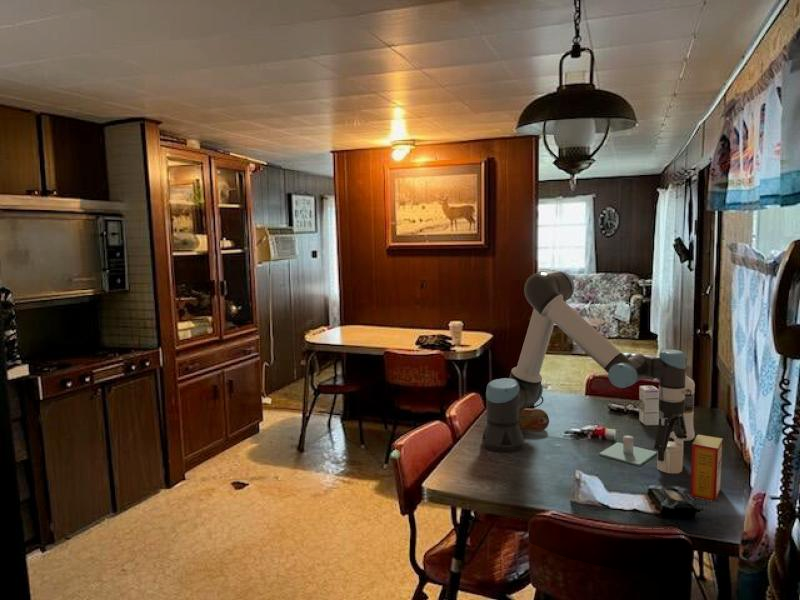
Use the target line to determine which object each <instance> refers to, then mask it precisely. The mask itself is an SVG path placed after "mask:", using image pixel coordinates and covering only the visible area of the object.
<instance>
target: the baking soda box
mask: <svg viewBox="0 0 800 600" xmlns="http://www.w3.org/2000/svg"><path fill="white" fill-rule="evenodd" d="M694 438H695V439H693V442H692V444H691V466H690V468H691V469H690V495H692V496H694V497H693V498H696V497H698V498H697V499H700V498H704V499H703V500H705V499H708V500H707V501H709V500H712V501H711V502H714V501H716V502H717V500H716V499H718V497H719V495H718V494H720V492H719V491H721V484H722V467H723V466H722V464H723V463H722V462H723V460H722V459H723V440H724V439H723V437H722V438H721V437H717V436H711V435H710V436H709V435H705V434H697V435H696V437H694ZM690 495H689V496H690Z"/></svg>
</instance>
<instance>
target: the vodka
mask: <svg viewBox="0 0 800 600" xmlns="http://www.w3.org/2000/svg"><path fill="white" fill-rule="evenodd" d="M685 358H686V367H688V366H687V361H688V358H687V357H685ZM695 388H696V384H695V381H694V380H693V379H692V378H691V377H689V376H688V375H687V374H686V376H685V391H686V392H687V393H686V394H685V399H684V401H685V411H684V413H683V416H684V421H685V426H686V432H687V434H686V435H687V438H686V439H685V438H683V439H684V442H689V441H692V440H694V438H695V430H694V429H695V427H694V414H695V412H694V411H695V410H694V409H695V408H694V407H695V406H694V405H695V391H696V390H695ZM674 437H676V436H675V433H674V431H673V432H671V434H670V437H669V439H671V438H672V439H671V440H674Z"/></svg>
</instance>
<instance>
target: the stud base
mask: <svg viewBox="0 0 800 600" xmlns="http://www.w3.org/2000/svg"><path fill="white" fill-rule="evenodd" d="M622 438H623V439H622V440H623V441H622V442H623V443H622V442H619V441H617V442H616V443H614V444H613V445H611V446H609V447H607V448H606V449H604V450H602V451H600V452H599V453H598V455H599V456H602V457H605V458H608V459H613V460H616V461H619V462H623V463H626V464H631V465H634V466H638V467H641V466H642V465H643V464H646V462H647V461H648V460H650V459H652V458H653V457H655V456H657V451H656V450H650V449H646V448H642V447H639V446H634V436H633V435H624V436H623V437H622Z"/></svg>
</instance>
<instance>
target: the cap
mask: <svg viewBox="0 0 800 600" xmlns="http://www.w3.org/2000/svg"><path fill="white" fill-rule="evenodd" d="M660 447H661V446H660ZM666 451H667V471H662V470H659V471H661V472H662V473H667V474H680V473H681V472H683V461H684V460H683V459H684V449H683V450H682V445H681V444H679V443H676V442H674V441H670V440H669V441H668V444H667V448H666Z"/></svg>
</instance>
